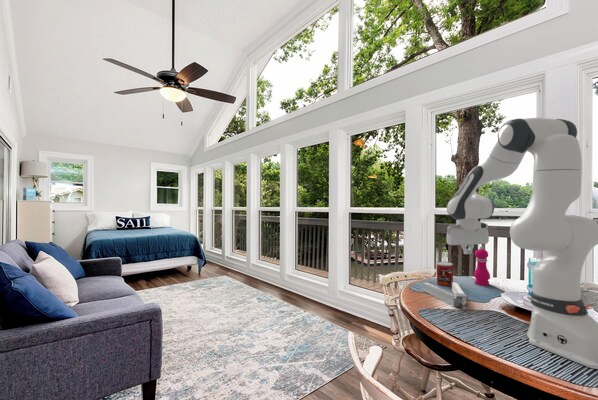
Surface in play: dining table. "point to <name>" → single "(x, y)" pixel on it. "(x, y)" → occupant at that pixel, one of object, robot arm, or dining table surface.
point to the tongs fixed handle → (443, 295)
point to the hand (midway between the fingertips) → (467, 253)
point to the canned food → (444, 273)
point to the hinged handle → (459, 292)
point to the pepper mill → (481, 267)
